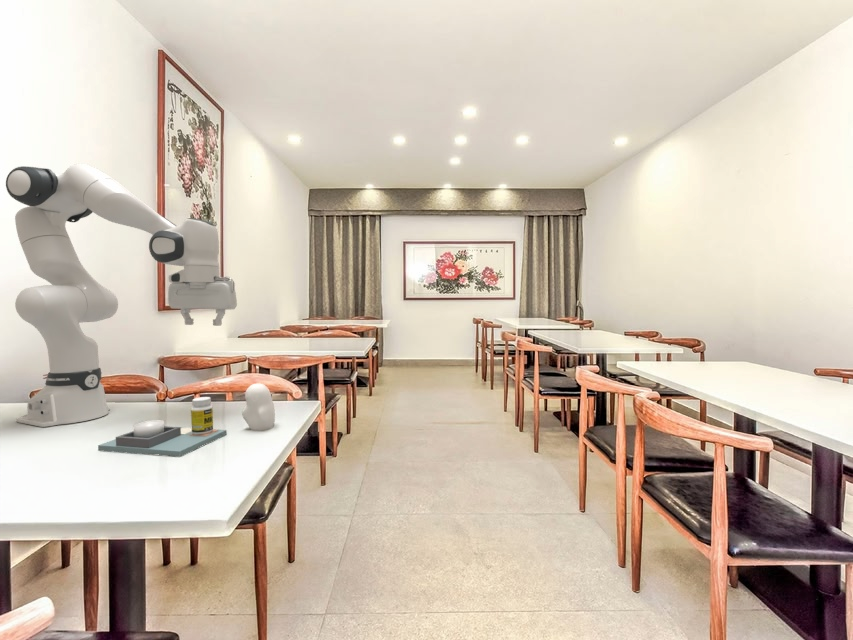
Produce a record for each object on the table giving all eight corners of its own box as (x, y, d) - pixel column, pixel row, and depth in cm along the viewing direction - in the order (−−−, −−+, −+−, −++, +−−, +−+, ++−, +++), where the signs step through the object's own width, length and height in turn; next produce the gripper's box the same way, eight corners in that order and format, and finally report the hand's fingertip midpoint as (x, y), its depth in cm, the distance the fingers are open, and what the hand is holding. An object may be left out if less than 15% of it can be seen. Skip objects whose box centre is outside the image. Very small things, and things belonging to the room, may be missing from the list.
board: (98, 450, 95) (97, 436, 95) (154, 430, 110) (153, 418, 110) (179, 456, 90) (179, 442, 90) (226, 434, 105) (226, 422, 105)
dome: (127, 443, 96) (126, 425, 96) (149, 435, 102) (149, 417, 101) (149, 445, 94) (148, 426, 94) (170, 436, 100) (169, 418, 100)
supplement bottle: (206, 435, 101) (205, 400, 100) (187, 435, 101) (186, 401, 100) (217, 428, 105) (215, 396, 105) (199, 428, 106) (197, 396, 105)
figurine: (239, 430, 108) (237, 385, 108) (259, 422, 116) (257, 379, 115) (262, 432, 106) (260, 386, 106) (281, 424, 113) (279, 380, 113)
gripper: (241, 277, 119) (242, 325, 119) (181, 277, 123) (182, 323, 124) (226, 276, 112) (226, 326, 113) (163, 276, 117) (164, 325, 118)
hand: (203, 325), depth 119 cm, fingers open, 8 cm apart
